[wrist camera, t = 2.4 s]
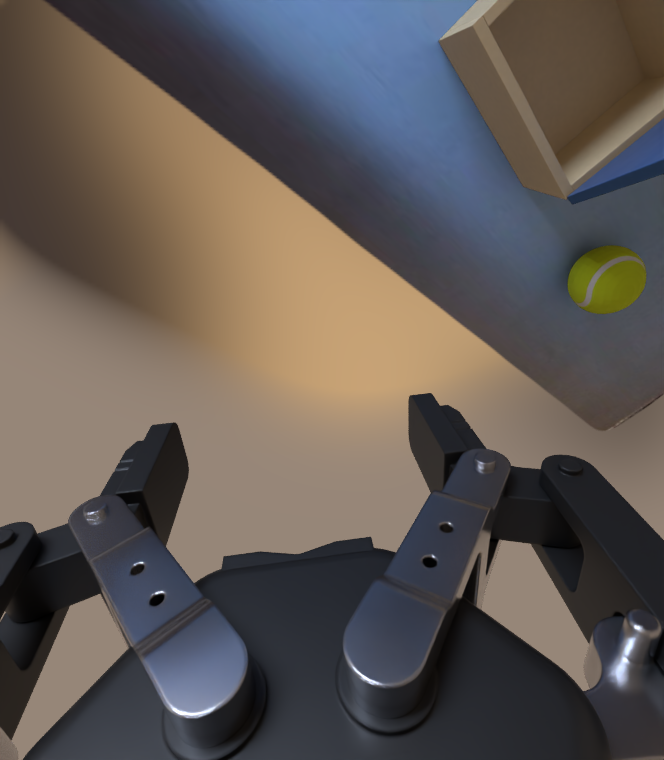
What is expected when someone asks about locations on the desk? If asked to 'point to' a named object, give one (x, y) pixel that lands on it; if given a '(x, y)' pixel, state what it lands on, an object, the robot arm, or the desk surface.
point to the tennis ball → (607, 279)
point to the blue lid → (627, 166)
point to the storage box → (562, 81)
